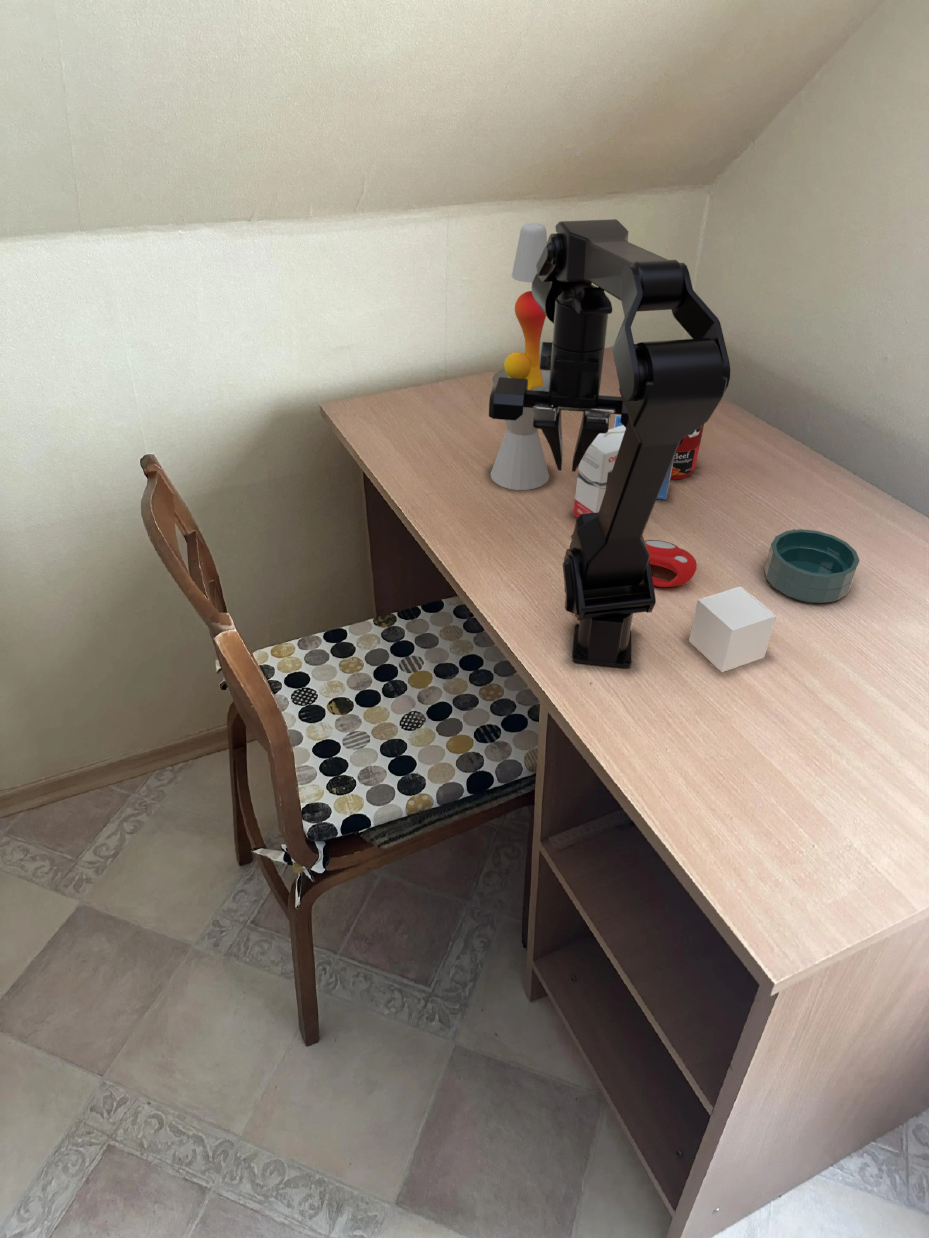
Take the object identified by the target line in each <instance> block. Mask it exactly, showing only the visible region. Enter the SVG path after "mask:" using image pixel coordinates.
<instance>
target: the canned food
mask: <svg viewBox="0 0 929 1238" xmlns="http://www.w3.org/2000/svg"><path fill="white" fill-rule="evenodd" d="M704 427H705V424H703V425H702V426H700V427H699V428H697V429H696V430H695V431H693V432H692V433H690V434H689V435H687V436H686V437H684V438H683V439H682V440H681V441H680V443H679V445H678V448H677V450H676V453H675V455H674V461H673V466H672V472H671V477H670V481H671V480H672V481H675V480H682V479H685V478H688V477H689V476H691V475H692V474H693V472H694V471H695V469H696V466H697V462H698V457H699V452H700V447H701V443H702V437H703V431H704Z"/></svg>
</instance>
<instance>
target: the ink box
mask: <svg viewBox="0 0 929 1238" xmlns="http://www.w3.org/2000/svg"><path fill="white" fill-rule="evenodd" d="M625 430H626V428H625V427H624V425H622V426H618V427H615V428H614V427H613V428H609V429H608V432H607V433H605V434H602V433H600V434H598V436H597V437H596V438H595V440H594V441H593V442H592V444H591V445H590V446H589V448H588V449H587V451H586V453H585V454H584V456H583V458H582V460H581V462H580V464H579V465H578V470H577V478H576V487H575V495H574V502H573V512H572V515H573V516H574V517H576V519H577V518H578V517H579V516H580V515H581V514H586V513H597V512H599V510H600V506H601V503H602V500H603V497H604V494H605V491H606V488H607V485H608V482H609V479H610V476H611V473H612V470H613V467H614V463H615V460H616V457H617V454H618V451H619V448H620V445H621V442H622V439H623V436H624V433H625Z"/></svg>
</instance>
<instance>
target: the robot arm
mask: <svg viewBox="0 0 929 1238" xmlns="http://www.w3.org/2000/svg"><path fill="white" fill-rule="evenodd" d="M554 228H555V232H556V233H550V234H549V236H548V238H547V245H546V247H545V248H544V250H543V252H542V254H541V256H540V259H539V261H538V263H537V265H536V267H537V274H536V276H535V278H534V280H533V282H532V283H531V291H532V295H533V298H534V300H535V301H536V303H537V304H538V306H539V307H540V308H541V310H542V311H543V312H544V313H545V315H546V318H547V319H548V320H549V321H550V322H551V323H552V324H553V329H552V342H551V341H550V342H549V341H542V342H541V349H540V350H541V351H540V359H539V360H540V369H541V370H547V371H549V372H550V381H549V392H548V391H534V390H528V379H518V378H504V377H499V378H498V379H497V380H496V381H495V382H494V384H493V383H492V387H491V391H490V394H489V401H488V417H489V418H491V419H492V420H501V421H502V420H503V421H505V420H517V419H518V418H519V417H520V416H522V415H523V407H527V408H534V412H535V415H534V420H533V427H534V428H537V430H541V431H542V434H543V436H544V437H545V440H546V441H547V443H548V445H549V448H550V450H551V453H552V456H553V460H554V463H555V466H556V469H557V471H560V472H561V471H562V468H563V457H564V452H563V451H564V449H563V431H562V430H563V429H562V428H563V427H562V411H567V412H568V411H570V412H582V417H581V422H580V426H579V429H578V430H579V431H578V434H577V439H576V444H575V447H574V451H573V456H572V465H571V472H572V473H575V472H576V471H577V469H578V468H579V464H580V462H581V460H582V458H583V456H584V454H585V453H586V451H587V449H588V448H589V446H590V445H591V444H592V442H593V441H594V440H595V438H596V437H597V436H598V434H600V433H602V434H605V433H607V432H608V430H609V429H610V428H609V427H610V419H611V418H612V417H611V416H612V415H620V416H621V420H620V422H621V423H622V424H623V425H624V427H625V428H626V430H625V433H624V436H623V439H622V442H621V445H620V448H619V451H618V454H617V457H616V460H615V463H614V467H613V470H612V473H611V476H610V479H609V482H608V485H607V488H606V491H605V494H604V497H603V500H602V503H601V506H600V510H599V512H597V513H586V514H581V515H580V516H579V517H578V518H577V517H576V519H575V526H574V530H573V532H572V534H571V535H570V539H571V542H570V545H569V548H567V549H566V551H565V554H564V556H563V562H562V573H563V584H564V586H563V587H564V594H565V596H564V597H565V598H564V599H565V600H564V610H565V611H566V612H568V613H571V614H572V615H574V617H575V619H576V621H577V622H578V623H575V624H574V629H573V641H572V642H573V643H572V654H571V655H572V656H571V661H572V662H573V663H576V664H586V665H595V666H603V667H605V666H606V667H613V668H623V669H629V668H631V667H632V623H633V617H634V614H639V613H640V614H641V613H652V612H653V610H654V607H655V606H656V604H657V600H656V593H655V587H654V586H655V585H653V580H652V576H653V573H652V567H651V564H650V561H649V558H650V555H649V552H648V549H647V546H646V544H645V541H646V540H645V538H644V532H645V530H646V527H647V524H648V522H649V519H650V516H651V515H652V512H653V509H654V507H655V504H656V502H657V500H658V499H657V497H658V495H659V492H660V490H661V487H662V485H663V482H664V480H665V477H666V475H667V472H668V470H669V467H670V465H671V462H672V460H673V458H674V455H675V453H676V450H677V448H678V445H679V443H680V441H681V440H682V439H683V438H684V437H686V436H687V435H689V434H690V433H692V432H693V431H695V430H696V429H697V428H699V427H700V426H702V425H703V424H704V425H705V424H706V423H707V422H709V420H710V419H711V417H712V415H713V414H714V412H715V410H716V409H717V407H718V406H719V405H720V403H721V400H722V399H723V397H724V396H725V395H724V394H725V393H726V391H727V389H728V387H729V385H730V380H731V363H730V359H729V354H728V350H727V346H726V342H725V337H724V333H723V329H722V325H721V321H720V319H719V317H718V316H717V315H716V314H715V313H714V312H713V311H712V309H710V307H709V306H708V305H707V304H706V303H705V302H704V301H703V300H702V298H701V297H700V296H699V295H698V294H697V292H695V290H694V288H693V284H692V283H693V282H692V279H691V275H690V271H689V269H688V265H686V263H685V262H679V261H678V260H677V259H667V258H665V257H663V256H661V255H660V254H656V253H654V252H652V251H650V250H647V249H646V248H643V247H641V246H638V245H636V244H634V243H632V242H629V230H628V229H627V228H626V227H625V226H624V225H623V224H622V223H621V222H620V221H619V220H618V219H617V218H616V219H615V218H614V219H612V218H611V219H589V220H588V219H585V220H584V219H583V220H563V221H562V220H561V221H558V222H557V223H556V224H555V227H554ZM605 292H606V293H608V294H609V295H611V296H612V297H614V298H616V299H618V300H619V301H620V302H621V306H622V311H623V315H624V317H623V320H622V323H621V326H620V328H619V330H618V333H617V335H616V338H615V341H614V343H613V346H612V355H613V359H614V366H615V370H616V376H617V380H618V385H619V389H618V391H619V394H620V396H616V395H611V394H605V393H601V392H600V391H601V384H602V383H601V382H602V374H603V373H602V372H603V365H604V355H605V348H606V337H607V330H608V321H609V315H610V314H612V313H613V306H612V302H611V300H610V298H609V296H608V295H607V294H606V293H605ZM669 310H671V314H672V315H673V318H674V319H675V321H677V322H678V323H679V325H680V326H681V327H682V328H683V330H685V332H686V333H687V334H688V335H689V336H690V337H691V338H685V339H672V340H671V339H669V340H656V341H655V340H653V341H641V342H637V343H635V341H634V336H633V332H632V325H633V323H634V320H635V317H636V315H637V312H651V311H652V312H653V311H669Z"/></svg>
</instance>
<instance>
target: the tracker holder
mask: <svg viewBox="0 0 929 1238" xmlns="http://www.w3.org/2000/svg"><path fill="white" fill-rule="evenodd" d="M644 541H645V544H646V546H647V549H648V552H649V555H650V558H649V561H650V565H652V566H656V567H662V568H665V569H668V570H671V571H672V572H674V573H675V574H676V576H675V577H674V578H673V579H672V580H667V579H665V578H662V577H657V576H654V575H652V580H653V586H656V587H660V588H669V587H670V588H672V587H680V586H683V585H686V584H687V583H688V582H690V581H691V580H692V579H693V577H694V576H695V574H696V571H697V565H698V564H697V560H696V558H695V557H694V555H692V554H691V553H690V552H689V551H688V550H686V549H684V548H681V547H679V546H677V544H674V543H672V542H668V541H665V540H657V539H646V540H644Z"/></svg>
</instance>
